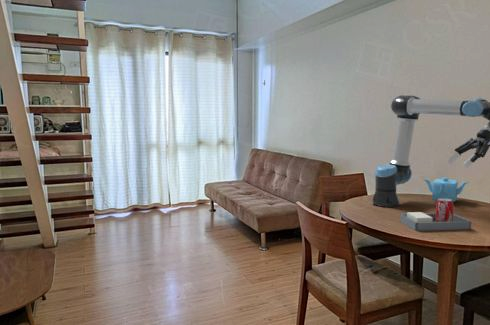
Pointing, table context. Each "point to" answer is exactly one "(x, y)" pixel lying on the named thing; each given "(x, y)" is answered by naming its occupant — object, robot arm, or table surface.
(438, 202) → the soda can
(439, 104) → the robot arm
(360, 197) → the table surface
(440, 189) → the teakettle
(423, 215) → the cream rectangular box
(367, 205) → the table surface
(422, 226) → the tote
